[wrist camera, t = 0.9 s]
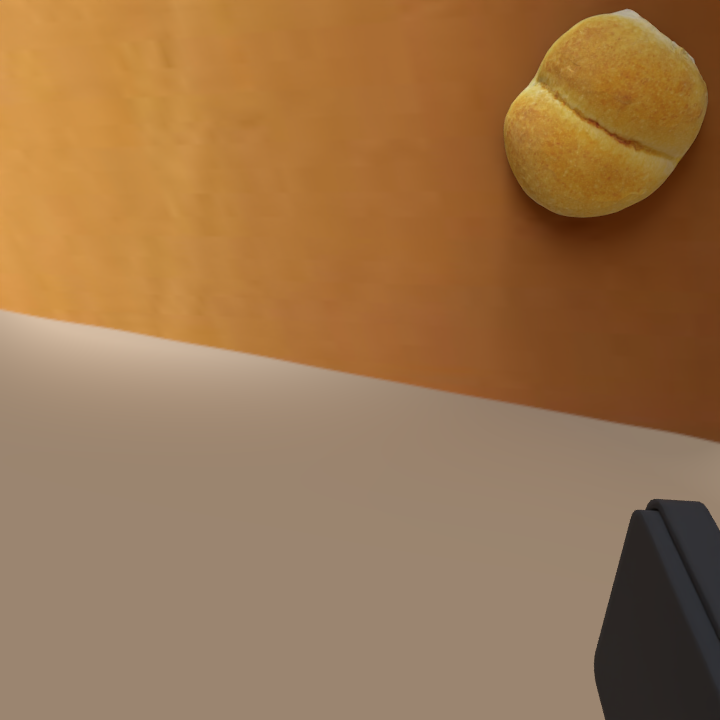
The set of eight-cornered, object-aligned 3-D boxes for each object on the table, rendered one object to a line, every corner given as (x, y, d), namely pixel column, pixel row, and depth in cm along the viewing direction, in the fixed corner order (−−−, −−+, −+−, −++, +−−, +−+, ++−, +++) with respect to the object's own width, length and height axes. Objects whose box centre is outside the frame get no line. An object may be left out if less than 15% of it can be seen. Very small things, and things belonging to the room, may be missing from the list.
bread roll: (473, 157, 35) (479, 176, 31) (588, -18, 31) (610, -20, 27) (603, 241, 36) (623, 267, 33) (729, 84, 32) (768, 94, 29)
